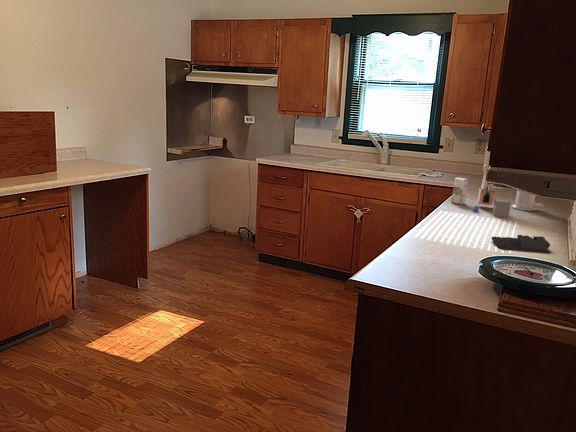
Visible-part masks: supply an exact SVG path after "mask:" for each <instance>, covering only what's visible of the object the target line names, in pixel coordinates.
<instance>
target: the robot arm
mask: <svg viewBox="0 0 576 432" xmlns="http://www.w3.org/2000/svg"><path fill="white" fill-rule="evenodd" d="M488 163H489V152H488V151H487V148H486V149H485V155H484V161H483V167H482V172H483V177H482V183H481V187H480V188H482V189H483V190H484V189H485V195H484V198H483V202H485V203H489V200H490V191H492V189H493V187H494V183H493V184H491V183H487V182H486V173H487V169H488ZM486 189H487V190H486ZM535 199H536V195H532V194H528V193H525V192H522V191H518V189H517V192H516V196H515V202H514V203H513V204H511V208H513V209H517V210H520V211H529V212H530V211H531V212H532V211H536V210H537V207H538V208H544V204H543V203H539V202H536V201H535Z"/></svg>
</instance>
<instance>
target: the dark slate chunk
mask: <svg viewBox="0 0 576 432" xmlns="http://www.w3.org/2000/svg"><path fill="white" fill-rule="evenodd" d="M491 240H492V242H493V243H494V245H495V246H496V247H497V248H499V249H500V250H502V251H511V252H512V251H513V252H522V253H523V252H525V253H538V254H551V253H552V251H550V250H549V248H550V247H551V244H550V242H549V241H548V240H547V239H546V238H545V237H544V236H540V235H539V236H538V235H537V236H536V235H533V237H531V236H529V235H522V234H518V235H516V237H508V236H507V237H504V236H503V237H501V236H491Z"/></svg>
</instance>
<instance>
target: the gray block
mask: <svg viewBox="0 0 576 432" xmlns="http://www.w3.org/2000/svg"><path fill="white" fill-rule="evenodd" d="M492 206H493V207H492V216H493V217H498V218H503V219H504V218H507V219H509V215H510V209H511V206H512V204H511V201H510V200H509V199H500V198H493V204H492Z"/></svg>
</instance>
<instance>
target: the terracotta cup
mask: <svg viewBox="0 0 576 432" xmlns="http://www.w3.org/2000/svg"><path fill="white" fill-rule="evenodd" d="M486 190H487V189H486ZM484 195H485V189H484V190H483V189H482V188H481V187H479V189H478V196H477V203H478V205H486V206H493V204H494V197H495V196H494V195H495V190H494V189H493V188H492V191H490V200H489V203H485V202H483V198H484Z"/></svg>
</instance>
